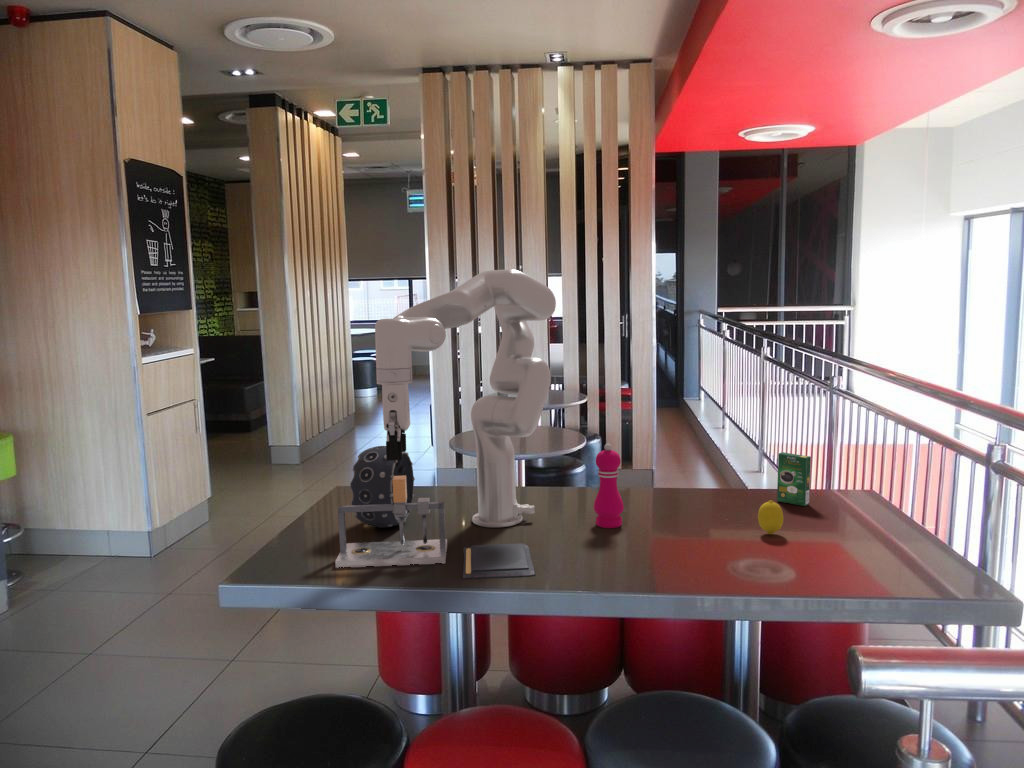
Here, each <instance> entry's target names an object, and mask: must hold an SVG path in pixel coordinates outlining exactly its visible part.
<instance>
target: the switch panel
mask: <svg viewBox="0 0 1024 768" xmlns="http://www.w3.org/2000/svg"><path fill="white" fill-rule="evenodd" d="M430 499H431V498H430V497H418V499H417V502H412V503H406V510H411V511H413V510H414V511H415V510H416V511H417V515H421V518H422V519H421V522H422V523H421V524H422V539H420V540H419V539H418V540H417V539H416V540H404V544H403V545H401V544H400V540H393V541H371V542H366V541H365V542H348V543H347V530H346V529H347V528H346V514H347V513H356V512H372V511H394V504H376V505H338V506H337V513H338V514H337V515H338V516H337V517H338V533H339V537H338V538H339V553H338V555H337V557H336V559H335V561H334V562H335V569H343V568H344V567H351V568H367V567H366V566H374V567H392V565H397V566H411V565H410V564H413V565H412V566H415V565H414V564H419V565H436V564H435V563H442V564H446V560H447V553H448V552H447V551H448V538H446V517H445V516H446V515H445V502H444V501H431V502H430ZM431 510H438V527H439V529H438V531H439V533H438V534H439V538H438V539H428V528H427V527H428V526H427V523H428V521H427V515H430V511H431ZM446 552H447V553H446ZM339 567H340V568H339ZM341 567H343V568H341ZM344 569H345V568H344Z"/></svg>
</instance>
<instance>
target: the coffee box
mask: <svg viewBox="0 0 1024 768" xmlns="http://www.w3.org/2000/svg"><path fill="white" fill-rule="evenodd" d="M811 459H812V456H810V455H802V454H796V453H789V452H782V451H781V452H779V453H778V459H777V461H778V462H777V488H776V489H777V493H776V501H777V502H780V503H785V504H789V505H796V506H799V507H800V506H801V507H802V506H803V507H806V506H810V505H809V504H810V488H811V487H810V486H811V466H812V465H811V464H812V463H811V462H812V461H811Z"/></svg>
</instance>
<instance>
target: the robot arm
mask: <svg viewBox="0 0 1024 768" xmlns="http://www.w3.org/2000/svg"><path fill="white" fill-rule="evenodd" d="M556 301H557V300H556V297H555V294H554V292H553V291H552V290H551V288H549V287H548V286H547V285H546V284H544V283H542V282H540V281H538V280H537V279H535V278H533V277H532V276H530V275H528V274H527V273H524V272H522V271H519V270H518V269H512V268H511V269H493V270H485V271H483V272H480V273H478V274H476V275H474V276H473V277H471V278H470V279H468V280H466V281H465V282H464V283H462V284H460V285H458V286H457V287H455V288H453V289H452V290H451V291H448V292H446V293H444V294H440V295H438V296H435V297H433V298H430V299H428V300H425V301H422V302H420V303H418V304H415V305H412V306H411V307H409V308H407V309H405V310H404V311H402V312H400V313H399V314H396V316H394V317H393V318H381V319H378V320H377V321H376V323H375V324H374V325H375V327H374V335H375V337H374V338H375V364H376V365H375V367H376V369H375V370H376V371H375V372H376V384H377V385H381V386H382V387H381V388H382V389H381V393H382V394H381V395H382V418H383V419H382V420H383V428H384V430H385V431H386V441H385V446H386V458H387V460H388V461H390V460H402V452H407V434H406V431H408V429H409V428H410V426H411V416H410V415H411V413H410V411H411V410H410V409H411V408H410V395H409V394H410V393H409V384H413V366H412V365H413V363H412V362H413V360H412V359H413V358H412V355H413V354H412V352H433V351H435V350H437V349H439V348H441V346H442V345H444V343H445V340H446V336H447V334H446V333H447V331H446V329H453V328H458V327H461V326H465V325H467V324H470V323H472V322H473V321H474V320H476V319H477V318H478V317H480V316H482V315H483V314H485V313H486V312H487V311H489V310H490V309H492V308H494V312H495V314H496V316H497V320H498V321H499V325H500V328H501V341H500V344H499V347H498V350H497V354H496V357H495V358H494V362H493V365H492V368H491V371H490V375H489V384H490V387H491V389H492V390H493V391H495V392H496V393H499V394H503V395H504V394H505V395H514V396H505V395H504V396H503V395H485V396H482V397H480V398H477V400H476V401H475V402H474V403H473V404H472V407H471V410H470V411H471V412H470V419H471V420H470V421H471V425H472V426H471V427H472V430H473V434H474V439H475V447H476V448H475V450H476V481H477V483H476V484H477V486H476V487H477V510H478V512H477V513H475V514H474V515H472V517H471V518H472V519H471V520H472V523H473V524H474V525H476V526H479V527H484V528H505V527H512V526H516V525H517V524H520V523H521V522H523V520H524V519H523V514H535V505H529V504H528V503H527V504H520V503H518V500H517V495H516V488H517V487H516V463H515V462H516V461H515V459H516V455H515V448H514V444H513V442H512V439H511V437H512V438H513V437H516V438H526V437H529V436H531V435H532V434H533V433H534V432H535V430H536V429H537V426H538V424H539V422H540V419H541V416H542V414H543V409H544V406H545V404H546V400H547V398H548V394H549V391H550V387H551V381H552V378H551V377H552V376H551V370H550V367H549V365H548V364H547V362H546V361H545V360H543V359H541V358H539V357H532V355H533V351H534V349H535V340H534V336H533V333H532V331H531V329H530V327H529V324H528V323H527V321H533V322H534V321H537V322H538V321H545V320H548V319H549V318H551V316H553V315H554V313H555V311H556V308H557V307H556V306H557V302H556ZM515 395H516V397H515Z"/></svg>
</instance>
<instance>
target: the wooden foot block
mask: <svg viewBox="0 0 1024 768" xmlns="http://www.w3.org/2000/svg"><path fill="white" fill-rule="evenodd" d="M393 502H394V512H395V517H399V525H398V526H399V541H400V544H401V545H403V544H404V541H405V529H404V528H405V527H404V523H405V522H403V517H404V516H406V515H407V510H406V503H407V483H406V476H394V478H393Z"/></svg>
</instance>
